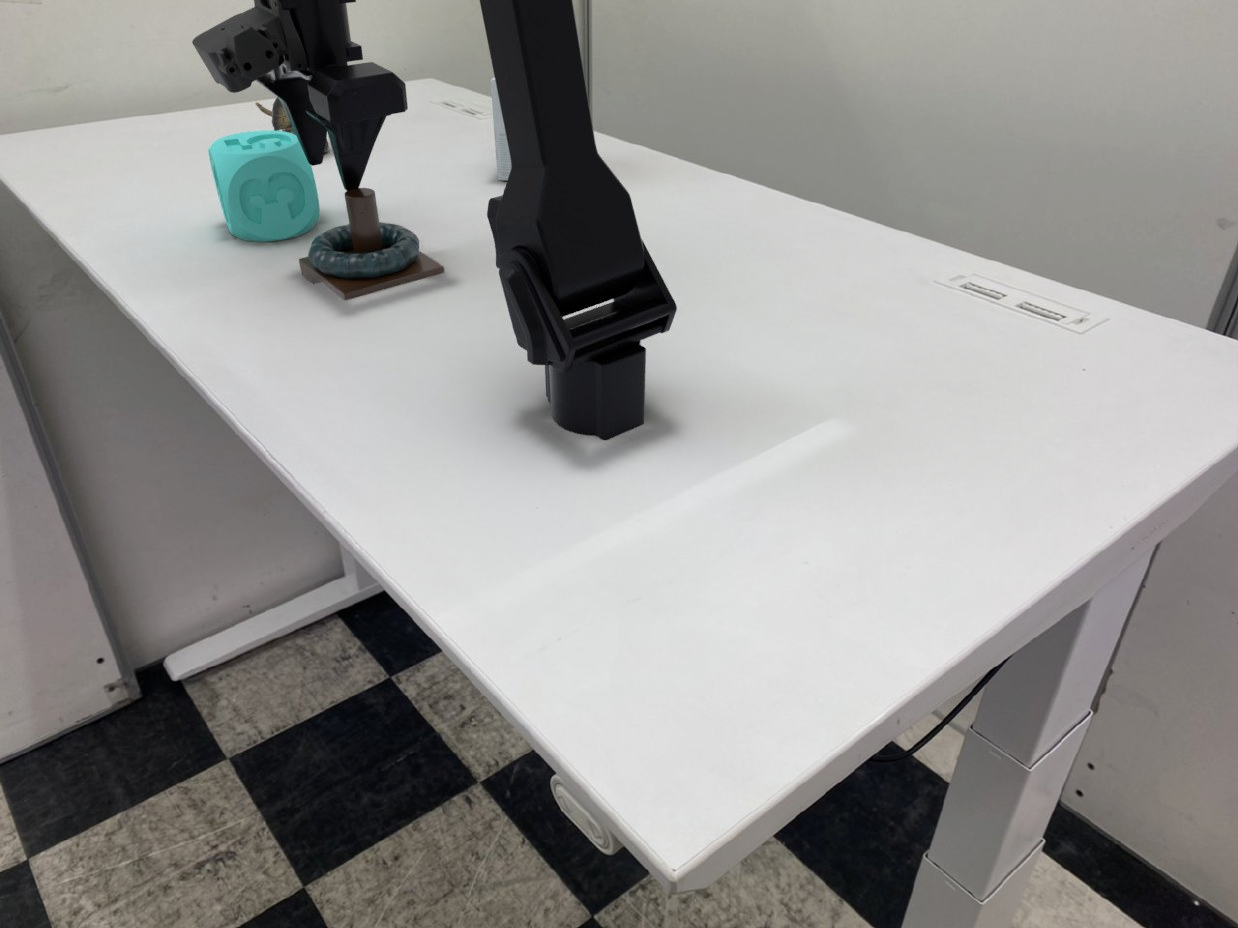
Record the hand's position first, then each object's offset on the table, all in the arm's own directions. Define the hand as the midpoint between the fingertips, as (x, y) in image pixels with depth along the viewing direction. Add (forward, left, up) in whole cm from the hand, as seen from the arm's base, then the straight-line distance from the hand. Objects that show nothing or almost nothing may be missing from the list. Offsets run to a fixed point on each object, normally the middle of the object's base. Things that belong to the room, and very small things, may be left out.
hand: (333, 177), depth 78 cm
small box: (+11, -27, -8) cm, 30 cm away
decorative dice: (+12, +2, -8) cm, 14 cm away
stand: (-5, 0, -8) cm, 9 cm away
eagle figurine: (+35, -10, -8) cm, 37 cm away
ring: (-4, 0, -5) cm, 7 cm away
